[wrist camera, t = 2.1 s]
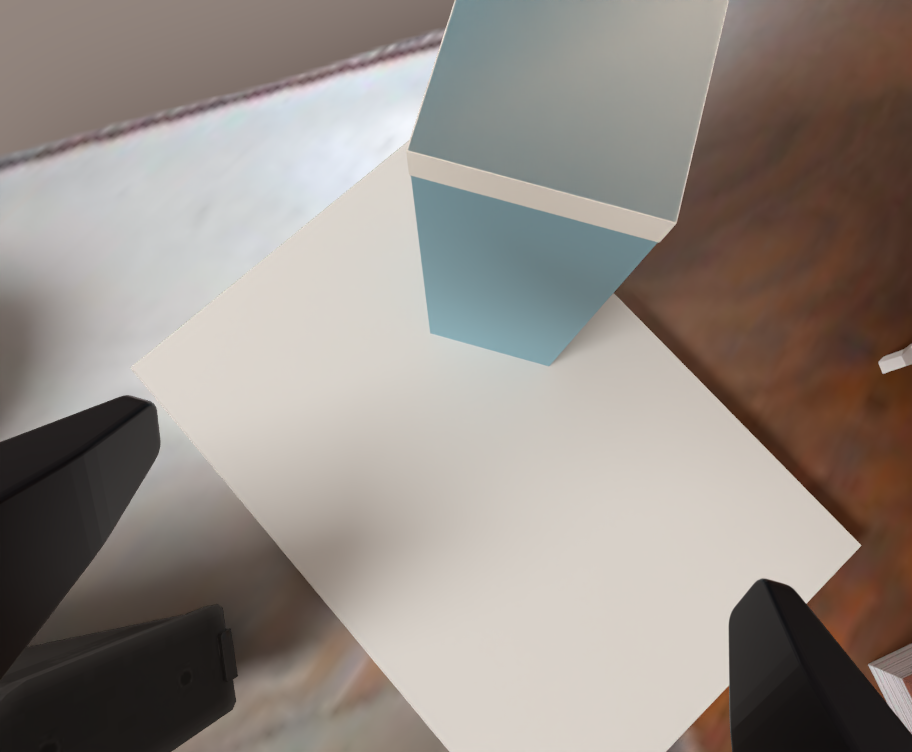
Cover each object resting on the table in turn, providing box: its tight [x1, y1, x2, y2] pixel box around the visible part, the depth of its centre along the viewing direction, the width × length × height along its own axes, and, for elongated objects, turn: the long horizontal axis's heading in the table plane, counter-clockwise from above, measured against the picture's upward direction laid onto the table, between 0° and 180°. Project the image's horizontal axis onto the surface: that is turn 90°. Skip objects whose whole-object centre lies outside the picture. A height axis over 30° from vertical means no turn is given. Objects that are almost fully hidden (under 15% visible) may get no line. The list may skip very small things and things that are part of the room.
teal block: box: [406, 0, 729, 366], centre depth 16 cm, size 4×4×12 cm
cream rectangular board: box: [130, 140, 861, 752], centre depth 22 cm, size 22×15×1 cm
